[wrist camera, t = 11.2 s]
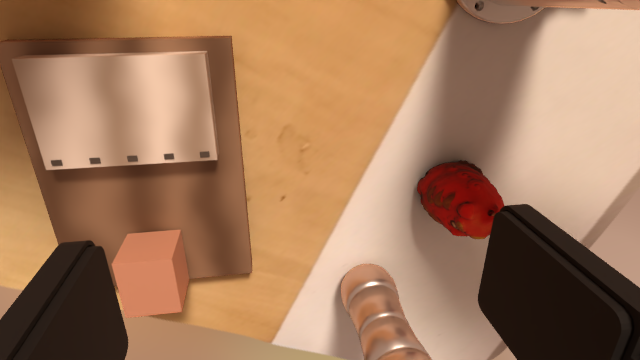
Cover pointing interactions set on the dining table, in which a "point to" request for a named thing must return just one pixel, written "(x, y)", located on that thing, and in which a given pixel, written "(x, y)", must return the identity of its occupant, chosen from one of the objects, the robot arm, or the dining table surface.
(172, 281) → the salmon upright block
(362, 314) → the plastic bottle
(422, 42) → the dining table surface
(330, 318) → the dining table surface
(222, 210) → the wooden base board
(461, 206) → the red clay folk toy
